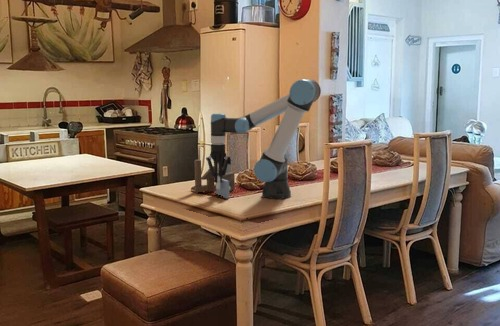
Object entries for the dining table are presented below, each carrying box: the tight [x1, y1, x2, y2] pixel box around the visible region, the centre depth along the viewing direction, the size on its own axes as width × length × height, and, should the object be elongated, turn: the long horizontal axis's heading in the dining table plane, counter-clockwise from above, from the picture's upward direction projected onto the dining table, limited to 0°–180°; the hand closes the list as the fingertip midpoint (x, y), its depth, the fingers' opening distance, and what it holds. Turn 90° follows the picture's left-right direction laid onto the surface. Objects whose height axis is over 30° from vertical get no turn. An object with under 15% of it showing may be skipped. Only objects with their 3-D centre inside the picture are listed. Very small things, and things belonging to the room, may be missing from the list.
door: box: [215, 179, 231, 199], centre depth 275 cm, size 3×12×9 cm, turn 30°
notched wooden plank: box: [218, 171, 236, 192], centre depth 286 cm, size 2×15×11 cm, turn 144°
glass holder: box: [222, 158, 232, 173], centre depth 311 cm, size 9×14×15 cm, turn 39°
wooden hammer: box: [193, 159, 216, 194], centre depth 287 cm, size 4×11×18 cm, turn 111°
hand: (218, 188), depth 273 cm, fingers closed
